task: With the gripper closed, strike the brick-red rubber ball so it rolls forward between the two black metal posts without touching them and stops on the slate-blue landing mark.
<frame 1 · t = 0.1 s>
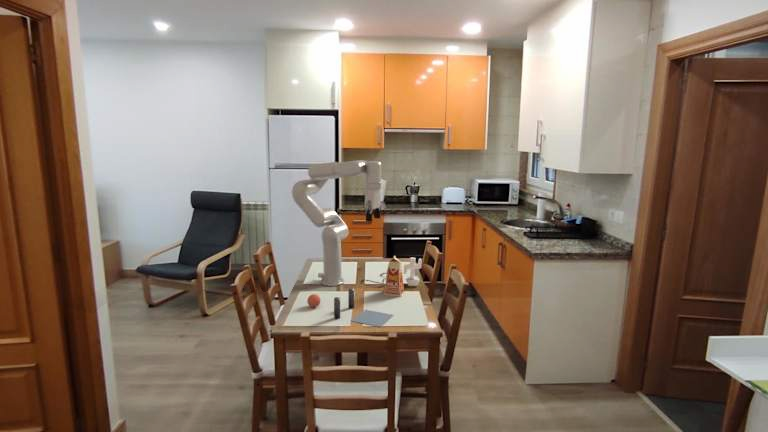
hand: (373, 219, 225), 37 cm above the table, tool pointing down, fingers open, 9 cm apart
sunglasses: (380, 282, 245), on the table
landing mark: (372, 318, 195), on the table
ball: (314, 300, 206), on the table
post 1: (337, 317, 194), on the table
post 2: (351, 307, 206), on the table
figurine: (412, 285, 240), on the table
milk carton: (393, 293, 227), on the table
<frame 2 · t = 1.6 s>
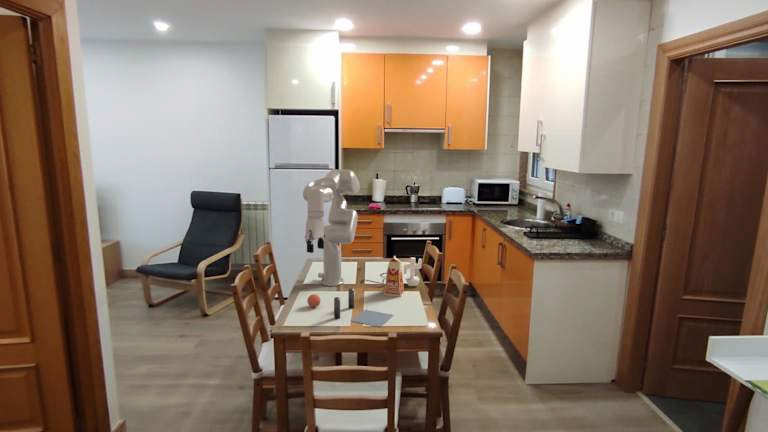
hand: (315, 250, 210), 25 cm above the table, tool pointing down, fingers open, 9 cm apart
nothing on the table moved.
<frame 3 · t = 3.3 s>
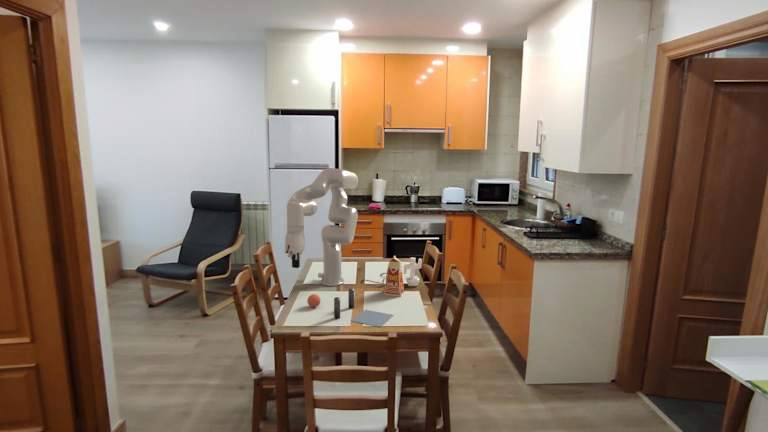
hand: (295, 267, 207), 18 cm above the table, tool pointing down, fingers closed
nothing on the table moved.
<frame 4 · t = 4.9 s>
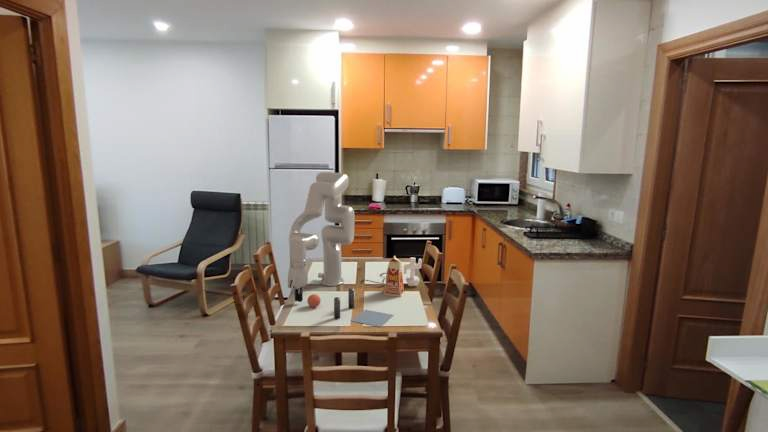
hand: (298, 300, 209), 2 cm above the table, tool pointing down, fingers closed
nothing on the table moved.
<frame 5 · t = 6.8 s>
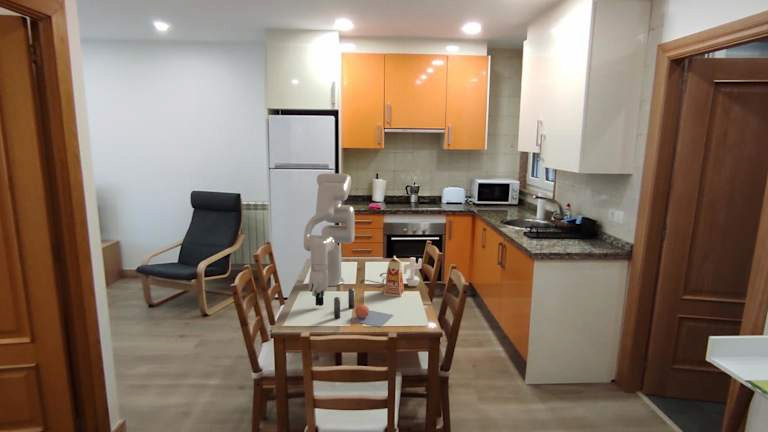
hand: (319, 304, 205), 2 cm above the table, tool pointing down, fingers closed
ball: (362, 311, 194), on the table
everything else where it was.
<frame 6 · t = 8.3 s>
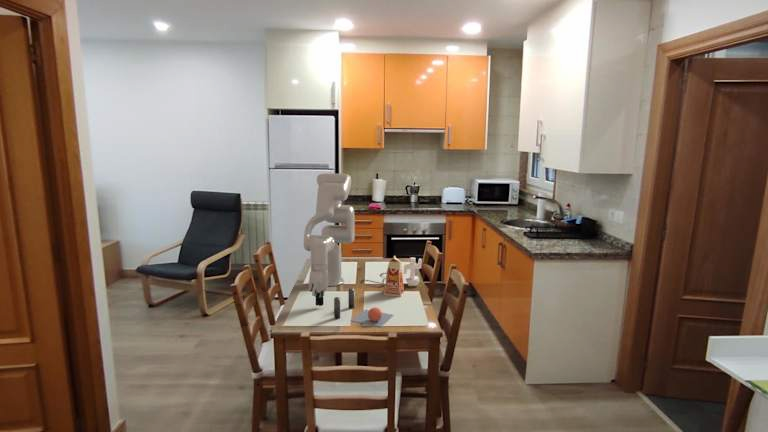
hand: (319, 304, 205), 2 cm above the table, tool pointing down, fingers closed
ball: (374, 314, 191), on the table
everything else where it was.
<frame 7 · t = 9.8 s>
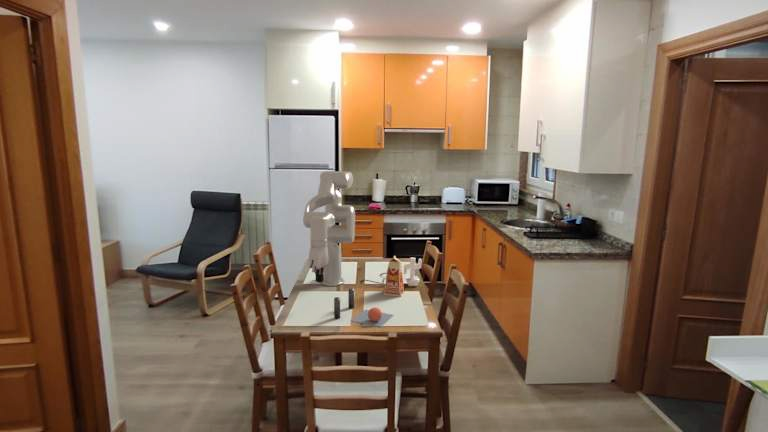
hand: (319, 281, 203), 12 cm above the table, tool pointing down, fingers closed
nothing on the table moved.
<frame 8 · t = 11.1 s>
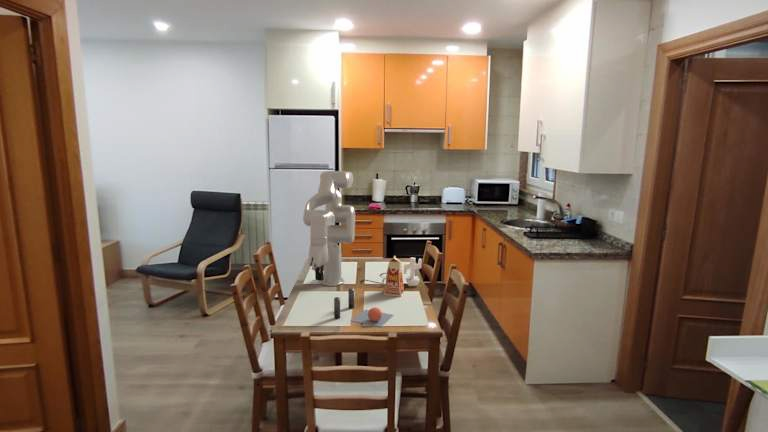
hand: (319, 279, 203), 14 cm above the table, tool pointing down, fingers closed
nothing on the table moved.
at the end: ball 3.2 cm from the landing mark (horizontally); ball never touched post 2; ball never touched post 1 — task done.
